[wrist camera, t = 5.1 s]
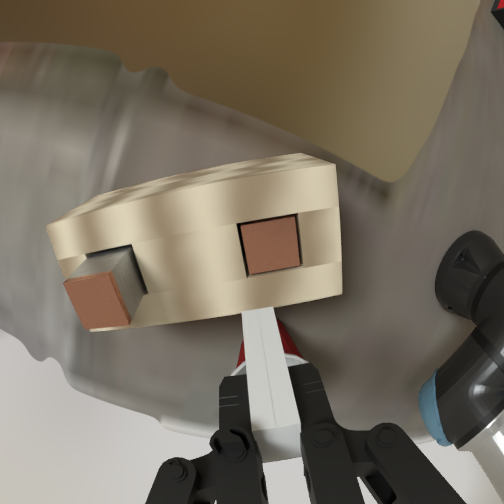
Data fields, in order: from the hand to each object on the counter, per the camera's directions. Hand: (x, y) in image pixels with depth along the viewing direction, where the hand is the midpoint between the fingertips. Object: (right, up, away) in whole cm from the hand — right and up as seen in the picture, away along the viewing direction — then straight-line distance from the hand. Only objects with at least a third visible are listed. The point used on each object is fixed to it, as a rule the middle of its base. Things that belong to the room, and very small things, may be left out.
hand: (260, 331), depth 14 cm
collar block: (-6, +8, +21) cm, 23 cm away
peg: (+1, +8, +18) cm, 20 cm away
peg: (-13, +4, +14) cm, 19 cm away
